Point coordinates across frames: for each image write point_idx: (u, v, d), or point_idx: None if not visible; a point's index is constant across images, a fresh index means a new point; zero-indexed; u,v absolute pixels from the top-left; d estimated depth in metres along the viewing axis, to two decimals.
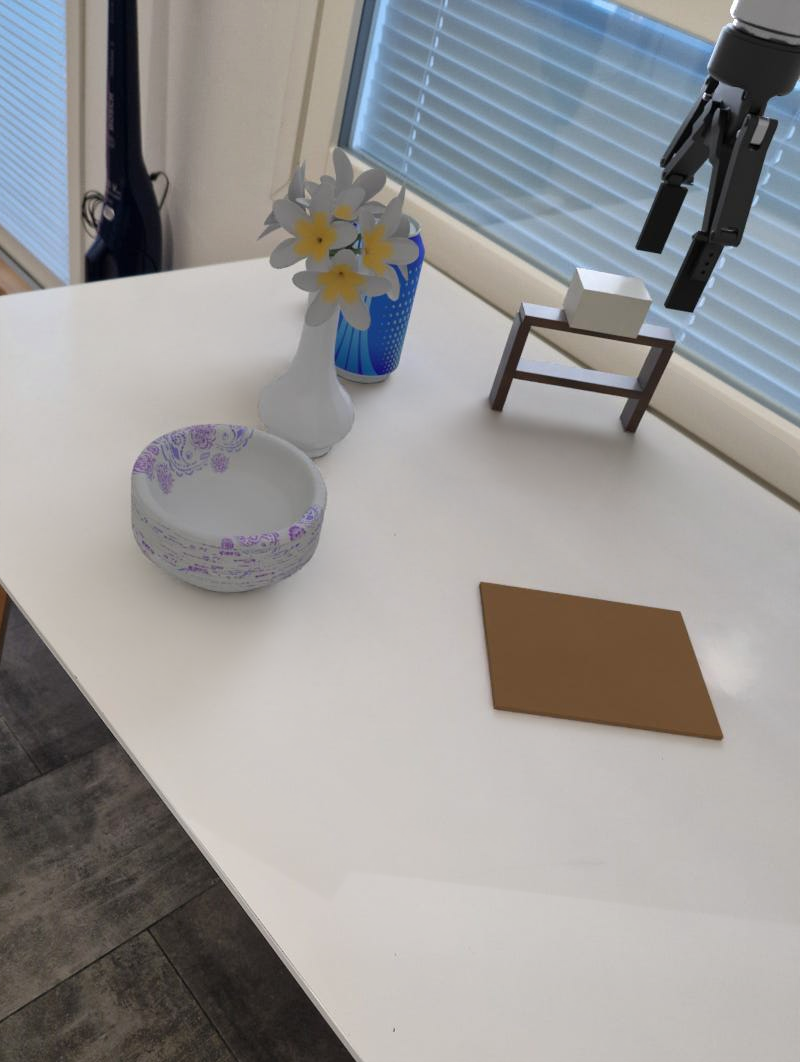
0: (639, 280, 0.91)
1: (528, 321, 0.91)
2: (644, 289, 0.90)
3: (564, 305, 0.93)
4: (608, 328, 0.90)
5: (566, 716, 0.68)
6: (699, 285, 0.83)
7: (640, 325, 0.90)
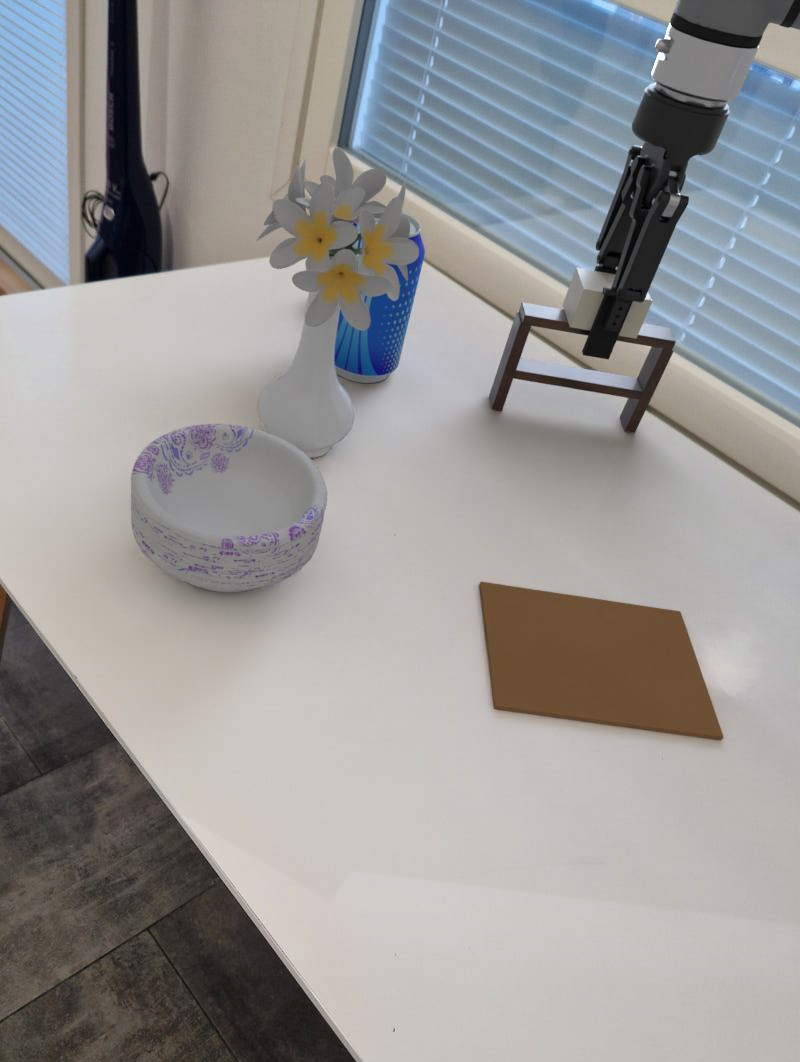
0: None
1: (528, 321, 0.91)
2: None
3: (564, 305, 0.93)
4: None
5: (566, 716, 0.68)
6: (612, 334, 0.90)
7: (640, 325, 0.90)
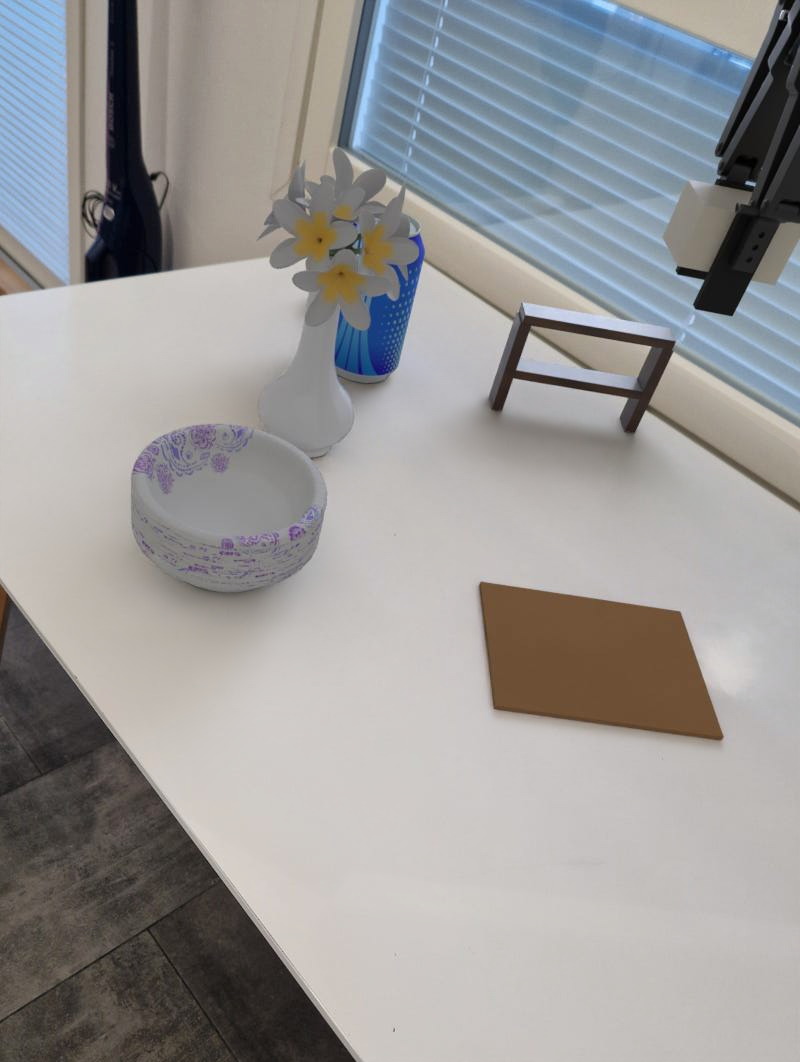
0: None
1: (528, 321, 0.91)
2: None
3: (666, 237, 0.64)
4: None
5: (566, 716, 0.68)
6: (743, 278, 0.60)
7: (783, 264, 0.60)
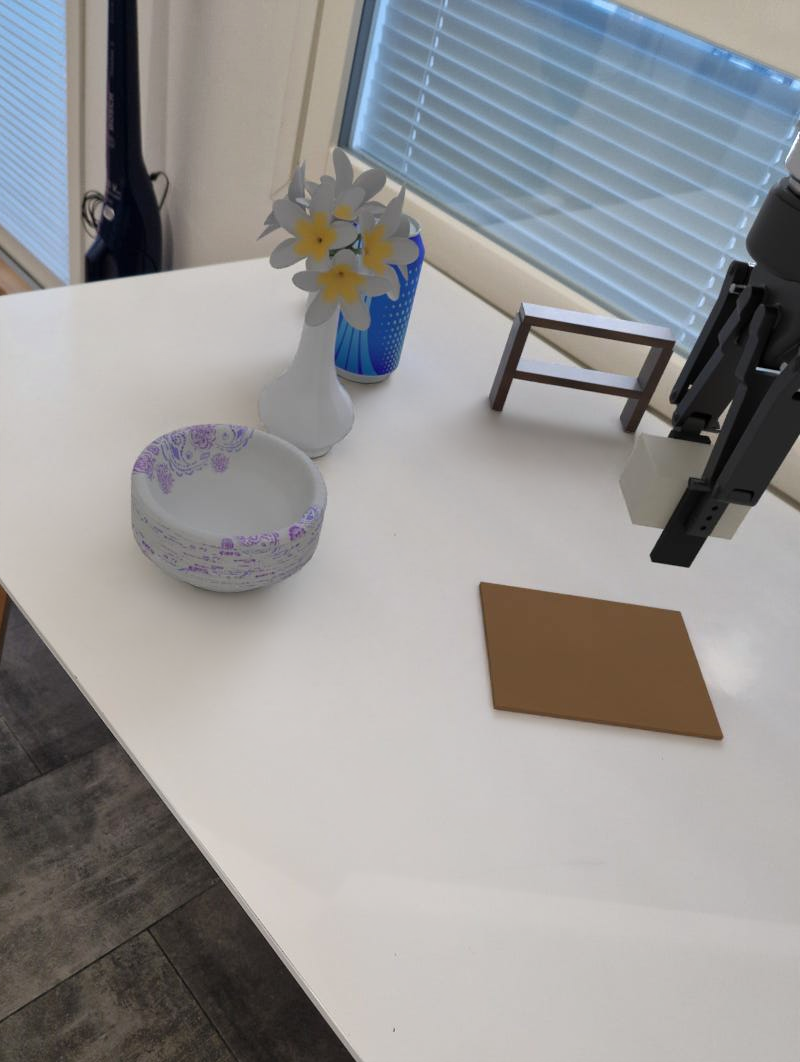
0: None
1: (528, 321, 0.91)
2: None
3: (621, 483, 0.63)
4: None
5: (566, 716, 0.68)
6: (698, 537, 0.60)
7: (739, 523, 0.60)
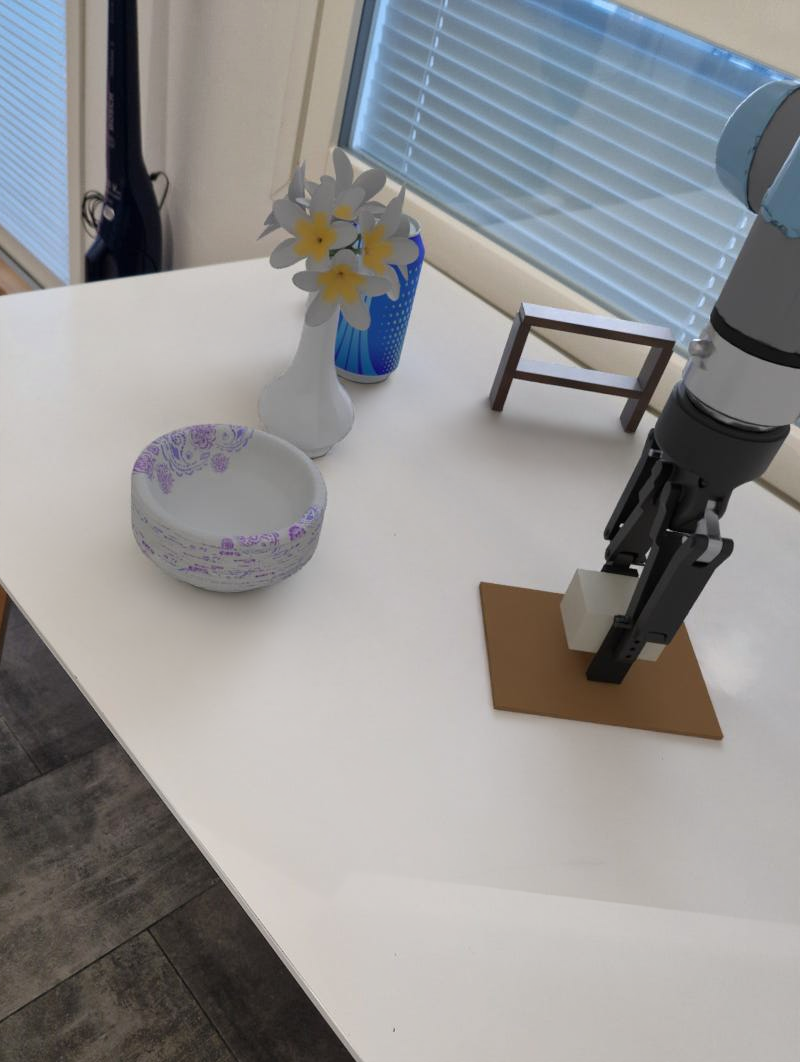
0: None
1: (528, 321, 0.91)
2: None
3: (562, 608, 0.72)
4: None
5: (566, 716, 0.68)
6: None
7: (661, 649, 0.68)
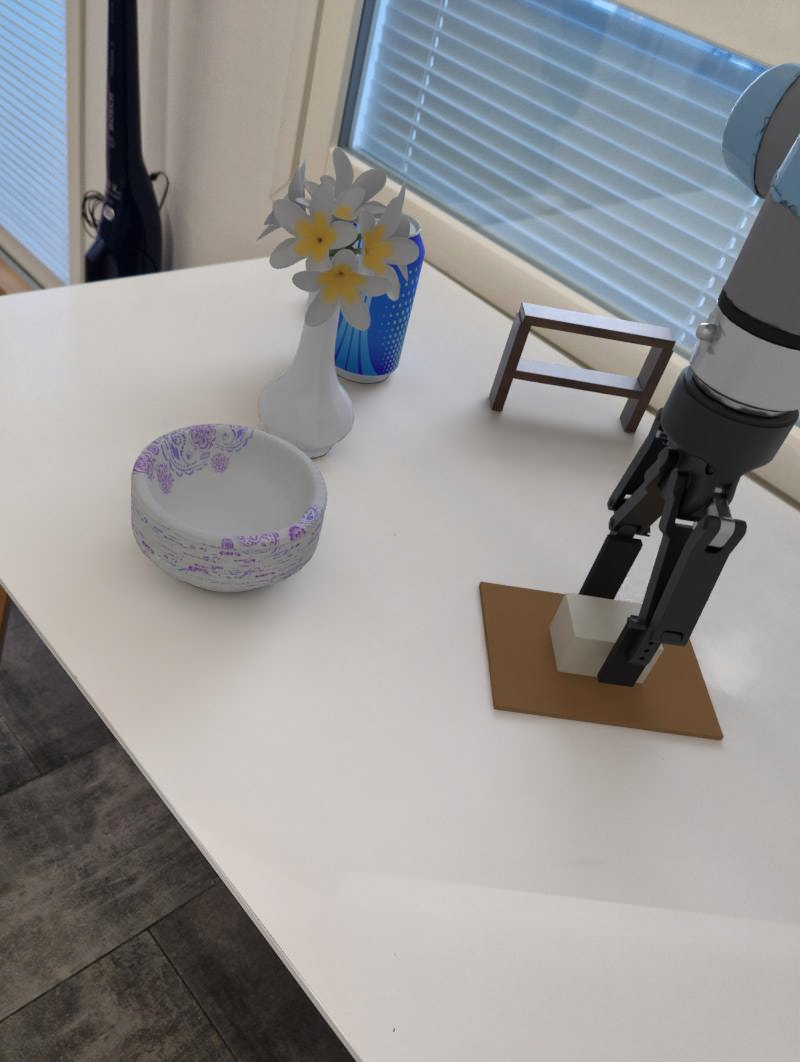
0: None
1: (528, 321, 0.91)
2: None
3: (551, 631, 0.73)
4: None
5: (566, 716, 0.68)
6: None
7: (647, 671, 0.70)
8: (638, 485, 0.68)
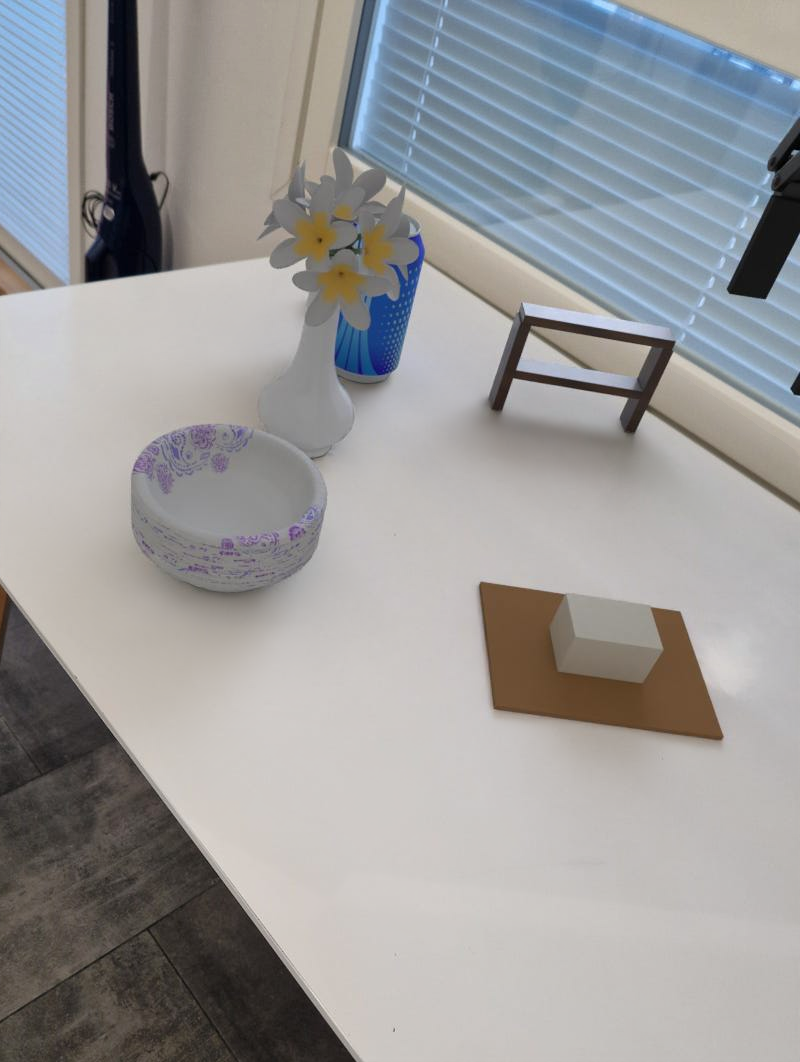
0: (646, 608, 0.72)
1: (528, 321, 0.91)
2: (652, 625, 0.70)
3: (551, 631, 0.73)
4: (607, 673, 0.71)
5: (566, 716, 0.68)
6: None
7: (647, 671, 0.70)
8: None
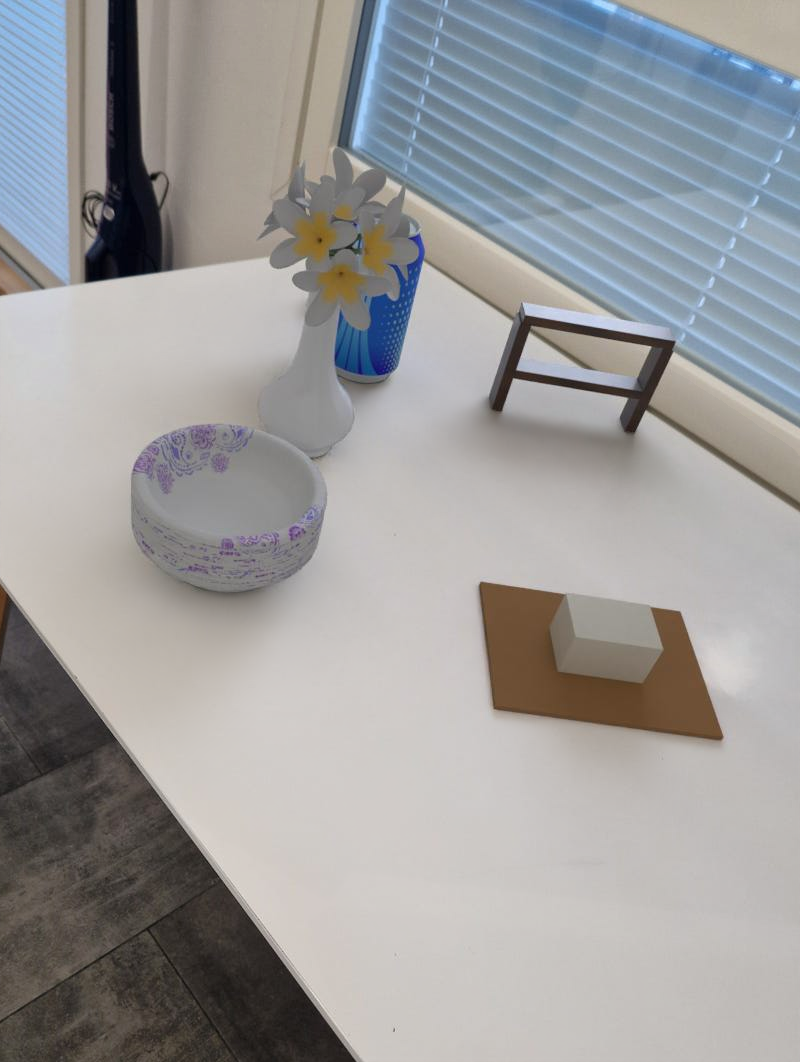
0: (646, 608, 0.72)
1: (528, 321, 0.91)
2: (652, 625, 0.70)
3: (551, 631, 0.73)
4: (607, 673, 0.71)
5: (566, 716, 0.68)
6: None
7: (647, 671, 0.70)
8: None
